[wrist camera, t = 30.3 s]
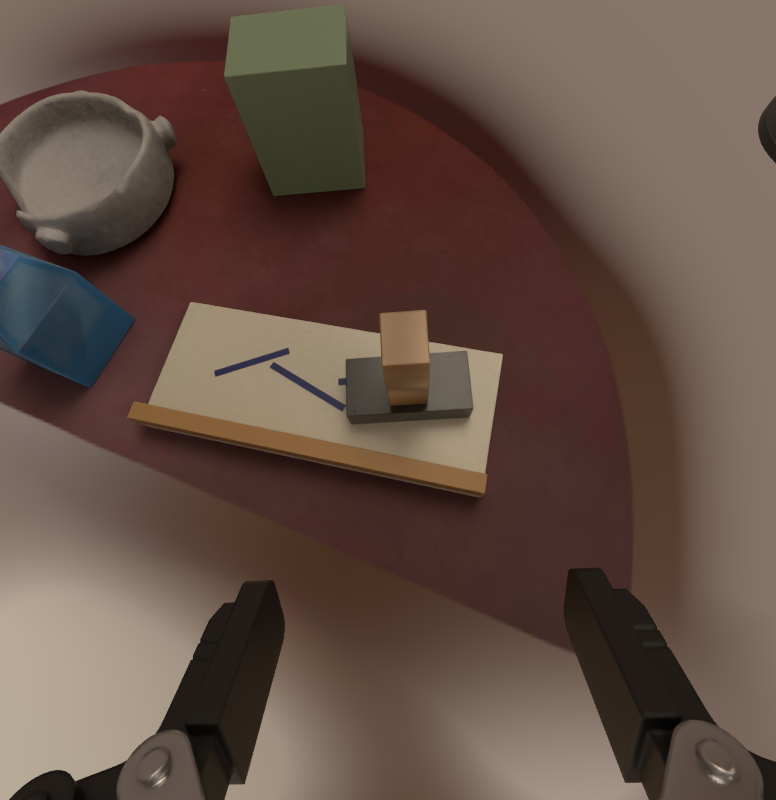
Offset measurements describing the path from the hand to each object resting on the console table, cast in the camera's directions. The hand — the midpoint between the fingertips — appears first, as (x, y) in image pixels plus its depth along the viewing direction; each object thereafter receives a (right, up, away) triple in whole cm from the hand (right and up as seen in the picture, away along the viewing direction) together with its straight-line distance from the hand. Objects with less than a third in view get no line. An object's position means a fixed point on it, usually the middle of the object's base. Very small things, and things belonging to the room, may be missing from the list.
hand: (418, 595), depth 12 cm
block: (-7, +26, +26) cm, 37 cm away
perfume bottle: (-25, +10, +22) cm, 35 cm away
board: (-5, +6, +19) cm, 21 cm away
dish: (-26, +24, +27) cm, 44 cm away
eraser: (+1, +6, +18) cm, 19 cm away
